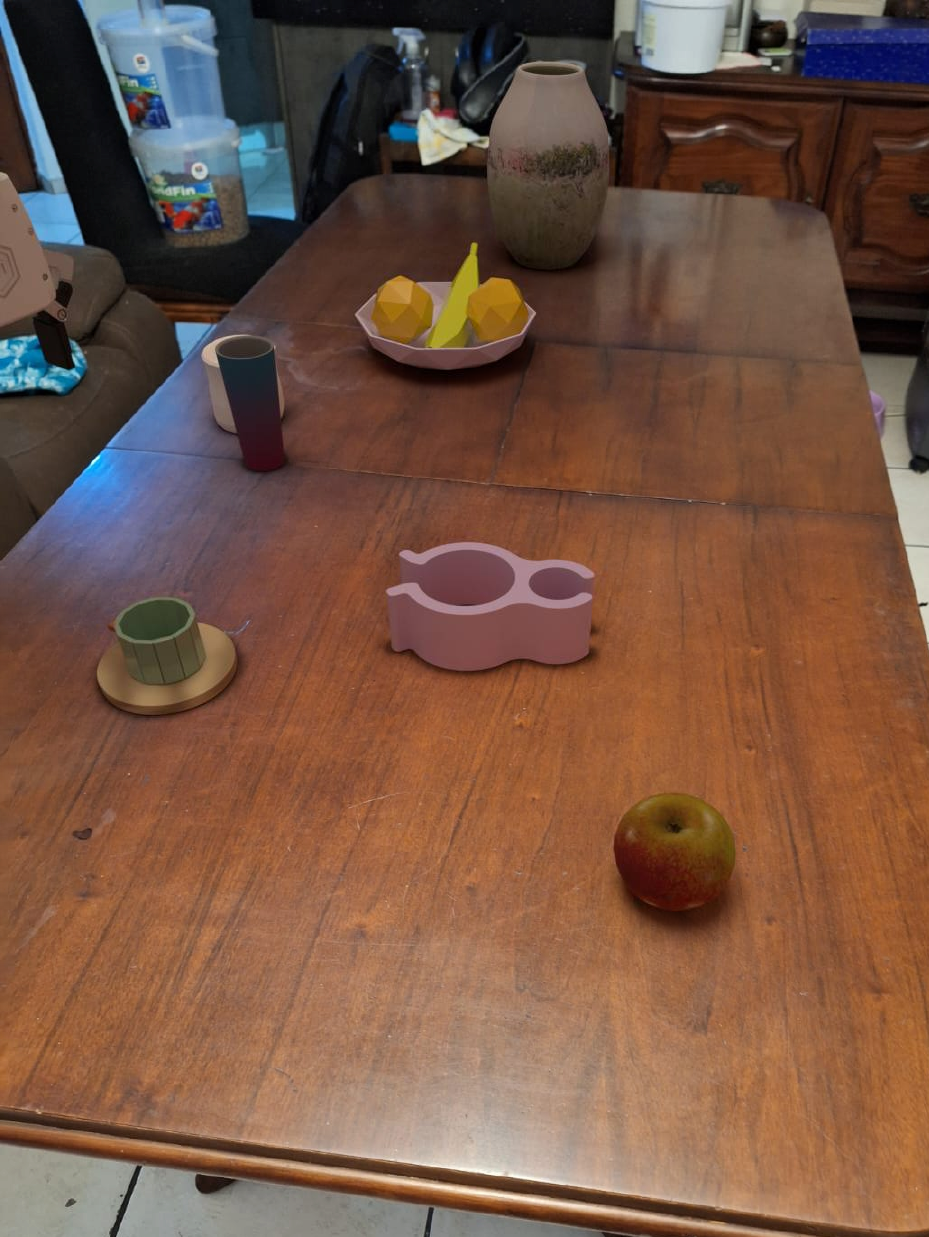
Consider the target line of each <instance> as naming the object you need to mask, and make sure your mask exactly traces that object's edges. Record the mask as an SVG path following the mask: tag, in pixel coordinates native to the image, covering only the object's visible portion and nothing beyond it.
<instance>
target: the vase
mask: <svg viewBox="0 0 929 1237" xmlns="http://www.w3.org/2000/svg"><path fill="white" fill-rule="evenodd" d="M486 162H487V163H486V176H487V177H486V178H487V179H486V180H487V190H488V199H489V204H490V209H491V214H492V217H493V220H494V224H495V227H496V229H497V232H498V234H499V237H500V238H501V240H502V243H503V244H504V246H505V248H506V249H507V251H508V252H509V254H510V255H511V257H512V258H513V259H514V260H515V262H517V263H518V264H519V265H521V266H524V267H527V268H530V269H534V270H535V269H536V270H548V271H549V270H552V271H553V270H559V269H565V268H568V267H573V265H574V264H576V263H577V262H578V261H579V260H580V259H581V258H582V256H584V254H585V252H586V251H587V249H588V248H589V247H590V245H591V243H592V241H593V239H594V238H595V235H596V233H597V230H598V228H599V225H600V224H601V223H600V222H601V220H602V217H603V213H604V209H605V206H606V201H607V196H608V190H609V184H610V183H609V181H610V141H609V132H608V127H607V124H606V120H605V118H604V115H603V113H602V111H601V108H600V106H599V104H598V102H597V100H596V98H595V96H594V94H593V92H592V90H591V87H590V86H589V83H588V78H587V76H586V71H585V70H584V68H583V67H581V66H579V65H577V64H573V63H568V62H561V61H533V62H532V61H531V62H527V63H523V64H521V65H519V66H518V67H517V68H516V70H515V72H514V76H513V79H512V81H511V84H510V85H509V88H508V90H507V91H506V93H505V95H504V97H503V99H502V100H501V102H500V103H499V106H498V107H497V110H496V112H495V114H494V117H493V118H492V122H491V125H490V130H489V137H488V148H487V161H486Z"/></svg>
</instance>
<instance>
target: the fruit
mask: <svg viewBox="0 0 929 1237" xmlns="http://www.w3.org/2000/svg"><path fill="white" fill-rule="evenodd" d="M733 834H734V833H733V832H732V828H731V826H730V825H729V822H727V819H725V817H724V816H723V815H722V813H721V812H719V811H718V810H717V809H716V808H715V807H714V806H713V805H711V804H710V803H708V802H707V801H705V800H703V799H701V798H699V797H697V796H694V795H690V794H686V793H682V792H664V793H663V792H661V793H657V794H653V795H650V796H648V797H645V798H643V799H641V800H639V801H638V802H636V803H635V804H634V805H632V806H631V807H630V808H629V809H628V810H627V811H626V812H625V813H624V814H623V816H622V817H621V819H620V821H619V823H618V825H617V827H616V829H615V833H614V837H613V854H614V861H615V865H616V868H617V871H618V873H619V876H620V877H621V879H622V881H623V883H624V884H625V886H626V887H627V888H628V890H629V891H630V892H631V893H632V894H633V895H634V896H636V897H637V899H639V900H640V901H642V902H644V903H646V904H647V905H649V906H651V907H654V908H657V909H661V910H665V911H670V912H681V911H688V910H693V909H696V908H699V907H702V906H703V905H705V904H707V903H708V902H710V901H712V900H714V899H715V898H716V897H717V896H718V895H720V893H721V892H722V891H723V890H724V889H725V887H726V886H727V884H728V883H729V881H730V879H731V877H732V874H733V871H734V868H735V863H736V843H735V841H736V840H735V837H734V835H733Z"/></svg>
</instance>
